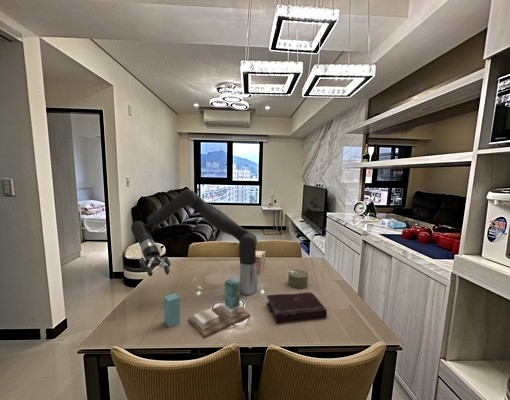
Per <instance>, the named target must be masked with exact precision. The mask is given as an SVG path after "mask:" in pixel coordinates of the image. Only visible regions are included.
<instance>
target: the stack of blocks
mask: <svg viewBox="0 0 510 400" xmlns="http://www.w3.org/2000/svg"><path fill="white" fill-rule="evenodd" d="M264 264H266V251H265V250H256V274H257V275H261V273H262V272H263V269H264V267H265V265H264Z"/></svg>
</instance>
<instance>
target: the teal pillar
mask: <svg viewBox="0 0 510 400" xmlns="http://www.w3.org/2000/svg"><path fill="white" fill-rule="evenodd" d="M180 303H181V300H180V296H178V294H176V293H175V292H173V293H171V294H168V295H165V296H164V297H163V304H164V305H163V306H164V307H163V309H164V311H163V312H164V323H165V324H166V326H167V327H168V326H169V327H168V328H170V327H171V328H172V327H174V326H176V325H179V324H180V323H181V308H180V307H181V304H180ZM173 325H174V326H173Z"/></svg>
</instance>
